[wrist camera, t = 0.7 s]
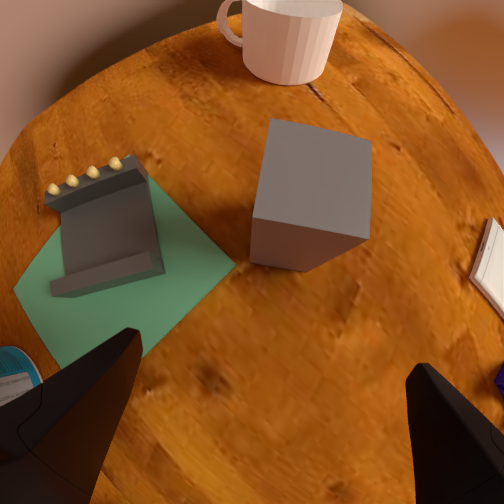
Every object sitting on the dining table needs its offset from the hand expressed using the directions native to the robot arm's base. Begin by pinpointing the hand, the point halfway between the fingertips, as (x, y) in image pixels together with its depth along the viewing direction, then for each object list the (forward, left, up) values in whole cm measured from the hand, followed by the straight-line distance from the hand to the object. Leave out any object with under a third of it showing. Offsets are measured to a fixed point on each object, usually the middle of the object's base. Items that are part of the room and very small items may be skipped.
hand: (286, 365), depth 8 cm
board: (-7, +12, -14) cm, 19 cm away
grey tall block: (+6, +4, -14) cm, 15 cm away
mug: (+21, +19, -14) cm, 31 cm away
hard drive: (+22, -18, -14) cm, 32 cm away
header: (-4, +14, -13) cm, 20 cm away
